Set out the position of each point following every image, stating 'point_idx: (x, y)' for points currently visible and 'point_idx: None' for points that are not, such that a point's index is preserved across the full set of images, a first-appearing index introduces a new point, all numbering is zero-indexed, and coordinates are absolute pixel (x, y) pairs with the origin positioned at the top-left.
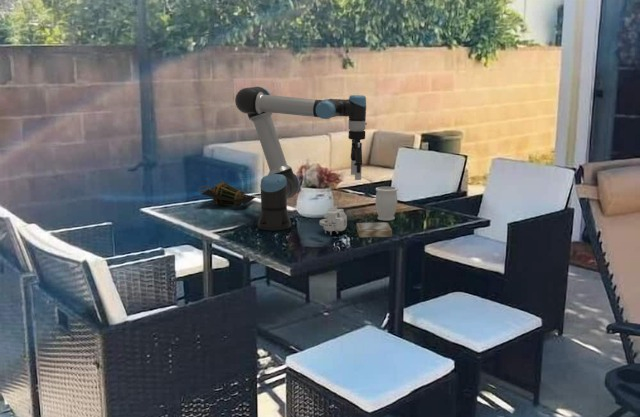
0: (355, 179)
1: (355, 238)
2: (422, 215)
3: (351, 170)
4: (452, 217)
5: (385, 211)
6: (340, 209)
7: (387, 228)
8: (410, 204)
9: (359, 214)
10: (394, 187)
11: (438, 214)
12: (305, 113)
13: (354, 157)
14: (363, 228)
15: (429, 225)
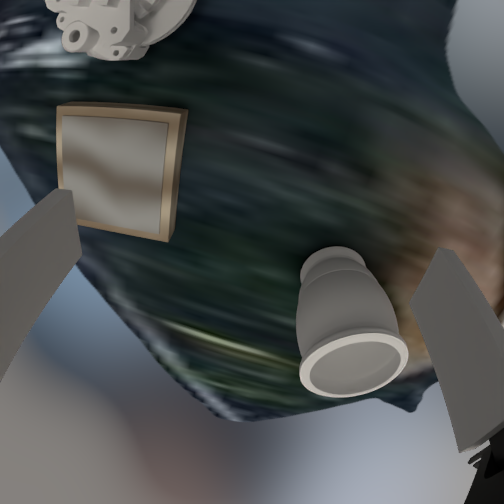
0: (52, 195)
1: (62, 86)
2: None
3: (460, 286)
4: (278, 400)
5: (303, 284)
6: (117, 26)
7: None
8: None
9: (440, 211)
10: (362, 393)
11: None
12: None
13: (495, 485)
14: (72, 125)
15: (205, 345)
